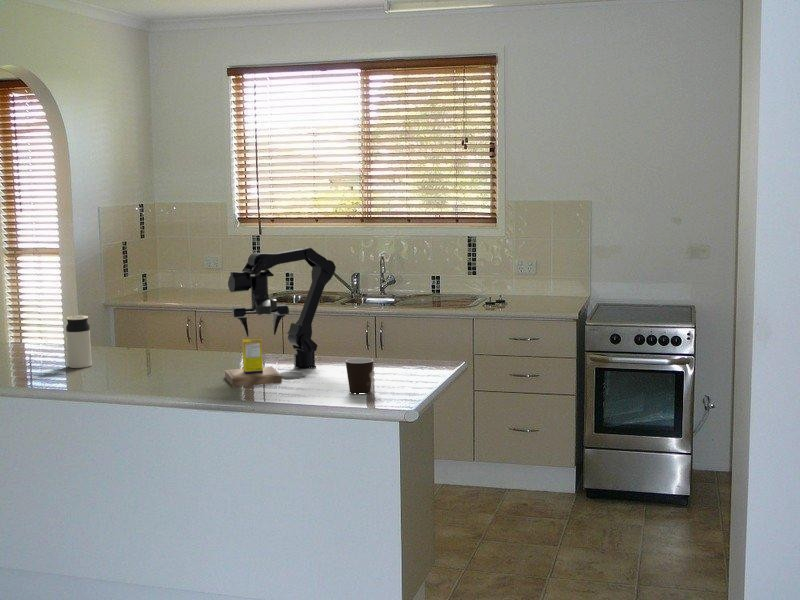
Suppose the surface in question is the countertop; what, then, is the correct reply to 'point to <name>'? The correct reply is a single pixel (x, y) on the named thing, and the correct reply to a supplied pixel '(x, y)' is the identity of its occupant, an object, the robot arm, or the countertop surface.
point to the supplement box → (252, 355)
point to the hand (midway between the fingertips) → (261, 335)
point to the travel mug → (78, 342)
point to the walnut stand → (252, 377)
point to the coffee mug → (359, 374)
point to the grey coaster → (292, 375)
